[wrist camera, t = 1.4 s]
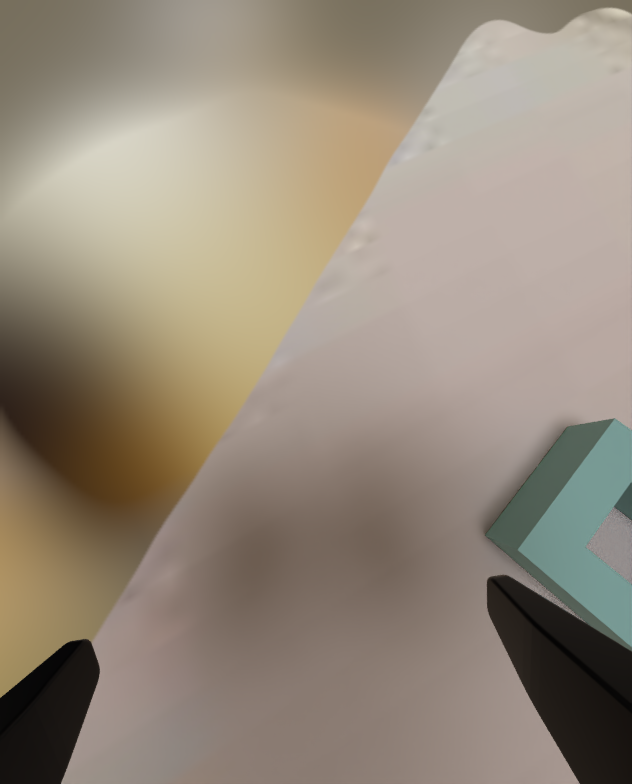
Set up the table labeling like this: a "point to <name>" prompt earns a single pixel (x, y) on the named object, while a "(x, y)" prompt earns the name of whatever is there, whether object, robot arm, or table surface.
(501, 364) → the table surface
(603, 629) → the rectangular frame
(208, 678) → the table surface
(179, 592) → the table surface
